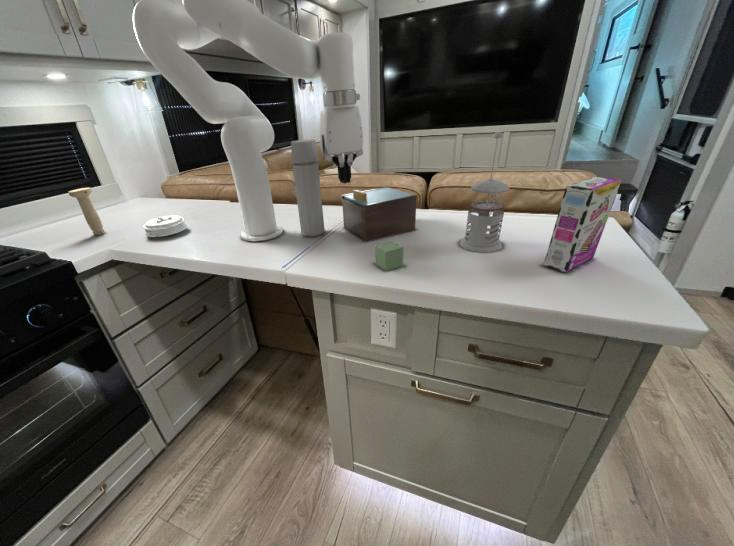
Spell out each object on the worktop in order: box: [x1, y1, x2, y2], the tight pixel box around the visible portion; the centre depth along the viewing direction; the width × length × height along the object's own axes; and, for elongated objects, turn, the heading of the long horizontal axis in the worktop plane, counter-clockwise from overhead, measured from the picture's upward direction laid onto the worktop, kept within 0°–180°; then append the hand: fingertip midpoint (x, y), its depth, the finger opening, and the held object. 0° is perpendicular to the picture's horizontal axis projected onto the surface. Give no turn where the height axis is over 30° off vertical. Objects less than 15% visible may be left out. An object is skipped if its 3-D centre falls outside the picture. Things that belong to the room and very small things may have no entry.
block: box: [374, 240, 404, 272], centre depth 74 cm, size 5×5×5 cm
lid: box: [142, 214, 187, 238], centre depth 108 cm, size 13×13×5 cm
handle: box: [67, 187, 105, 236], centre depth 111 cm, size 5×6×15 cm
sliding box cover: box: [344, 187, 414, 207], centre depth 92 cm, size 13×15×3 cm
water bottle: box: [290, 138, 326, 238], centre depth 92 cm, size 9×8×25 cm
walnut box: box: [341, 186, 418, 242], centre depth 95 cm, size 14×16×10 cm
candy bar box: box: [543, 176, 623, 273], centre depth 65 cm, size 11×5×16 cm, turn 123°
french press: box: [459, 131, 510, 253], centre depth 76 cm, size 10×12×25 cm
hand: (345, 182), depth 86 cm, fingers closed
